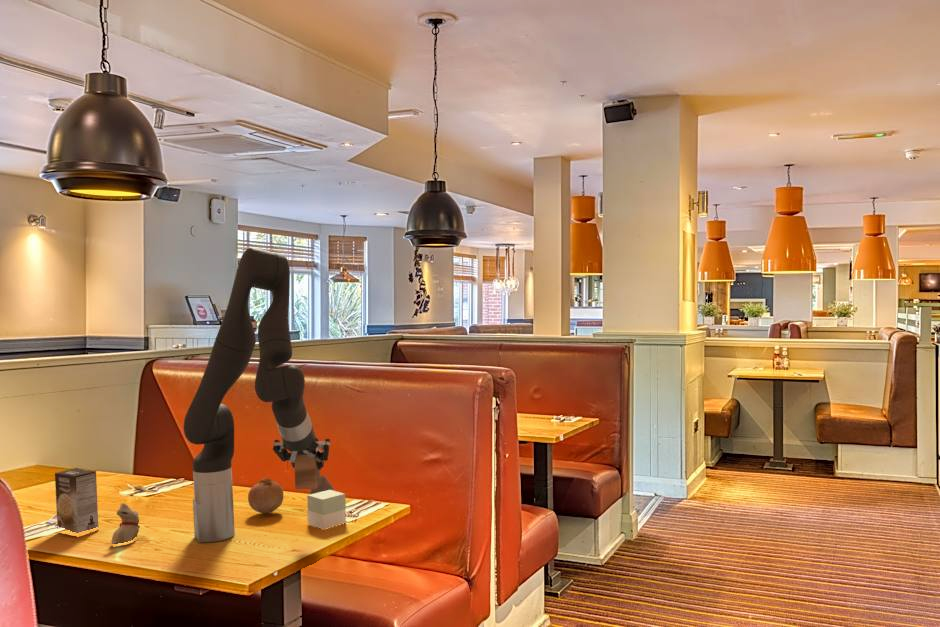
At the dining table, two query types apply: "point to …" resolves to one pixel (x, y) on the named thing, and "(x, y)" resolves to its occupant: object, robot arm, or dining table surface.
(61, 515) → the coffee box
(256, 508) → the onion
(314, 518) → the tower base
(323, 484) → the vase
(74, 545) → the dining table surface
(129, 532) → the chocolate bunny
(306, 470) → the column
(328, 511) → the tower mid
